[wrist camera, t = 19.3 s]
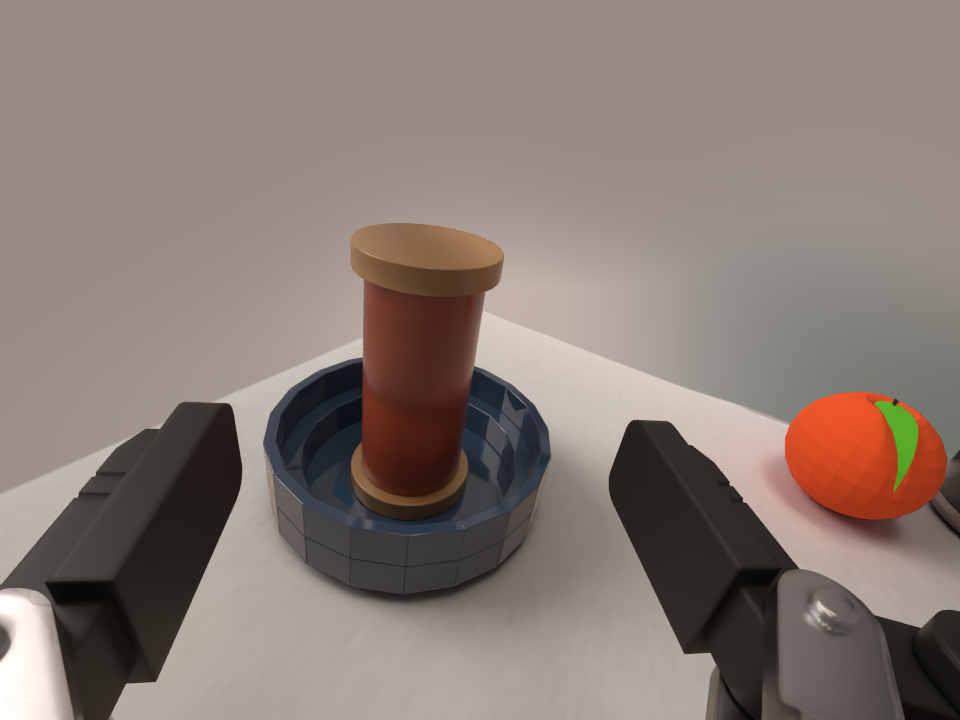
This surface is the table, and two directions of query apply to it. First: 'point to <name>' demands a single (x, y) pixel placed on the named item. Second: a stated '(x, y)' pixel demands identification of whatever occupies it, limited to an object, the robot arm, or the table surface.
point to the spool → (417, 362)
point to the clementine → (865, 455)
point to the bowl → (392, 542)
